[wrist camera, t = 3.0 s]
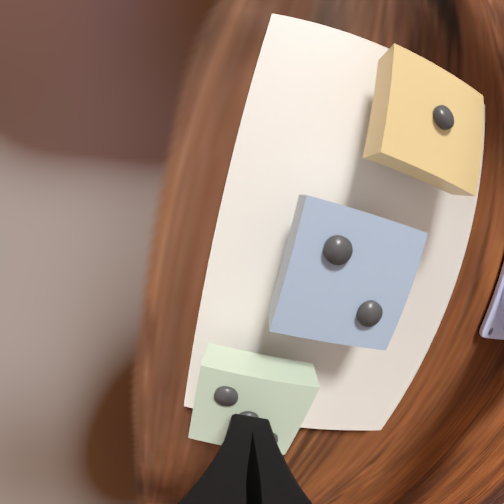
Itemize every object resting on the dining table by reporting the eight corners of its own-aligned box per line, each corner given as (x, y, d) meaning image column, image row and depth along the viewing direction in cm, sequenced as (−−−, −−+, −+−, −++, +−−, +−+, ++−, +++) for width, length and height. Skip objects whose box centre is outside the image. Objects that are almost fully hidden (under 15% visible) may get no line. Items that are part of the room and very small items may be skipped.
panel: (472, 108, 11) (497, 101, 8) (375, 418, 15) (385, 441, 12) (271, 26, 10) (272, 0, 8) (188, 392, 14) (179, 419, 12)
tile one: (461, 103, 9) (486, 95, 7) (451, 194, 10) (479, 197, 8) (378, 60, 8) (396, 41, 7) (362, 157, 9) (383, 151, 8)
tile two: (405, 227, 10) (431, 234, 8) (371, 330, 11) (387, 353, 9) (298, 194, 10) (307, 195, 8) (268, 310, 11) (269, 334, 9)
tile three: (313, 363, 11) (320, 390, 9) (283, 430, 12) (285, 457, 10) (208, 342, 11) (199, 368, 9) (194, 414, 12) (187, 440, 10)
